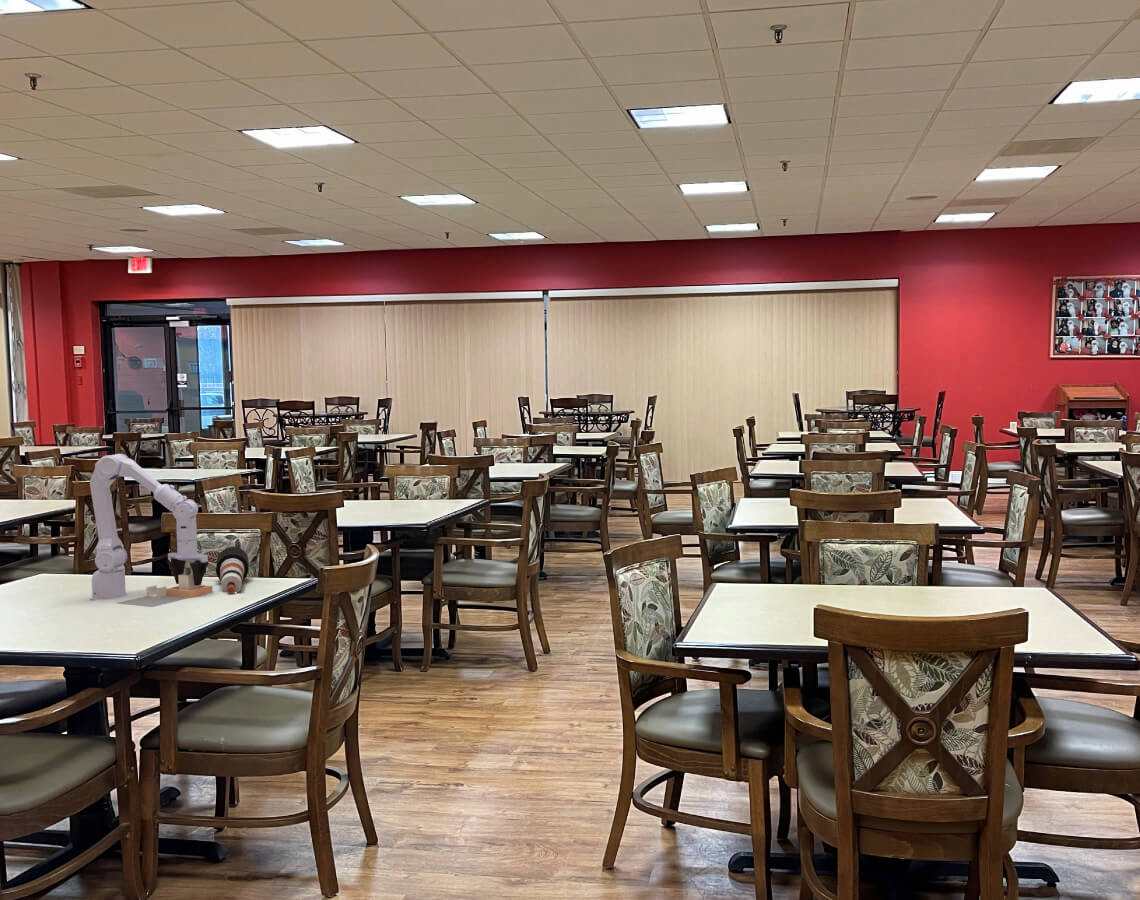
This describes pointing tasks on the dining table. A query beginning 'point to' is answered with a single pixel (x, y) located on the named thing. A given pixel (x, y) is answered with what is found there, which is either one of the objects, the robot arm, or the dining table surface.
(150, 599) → the board
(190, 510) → the robot arm
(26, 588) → the dining table surface
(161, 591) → the clip
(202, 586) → the frame
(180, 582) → the connector
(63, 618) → the dining table surface
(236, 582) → the cable
